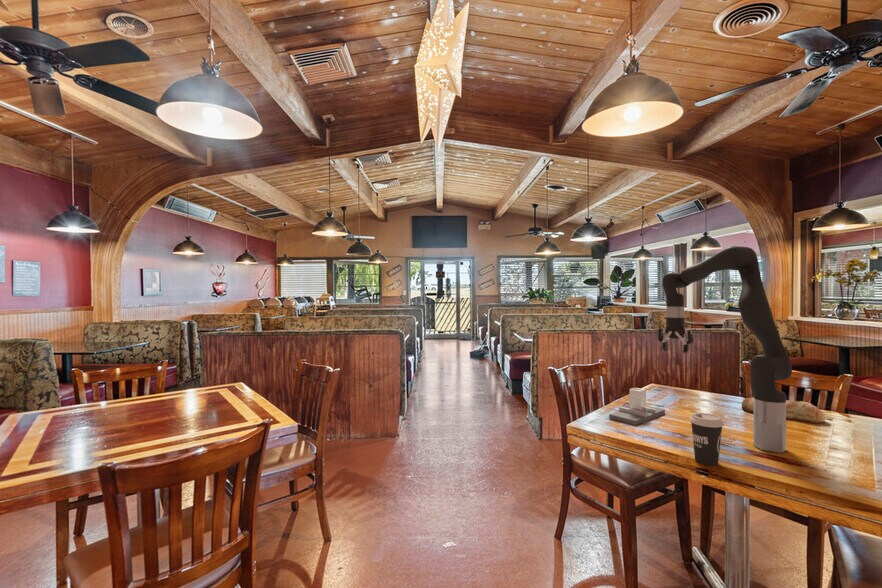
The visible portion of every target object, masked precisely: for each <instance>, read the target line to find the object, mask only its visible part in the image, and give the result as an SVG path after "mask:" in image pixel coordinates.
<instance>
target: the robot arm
mask: <svg viewBox="0 0 882 588" xmlns="http://www.w3.org/2000/svg"><path fill="white" fill-rule="evenodd" d="M728 270H730V271H738V274H739V276H740V280H741V289H740V293H739V298H738V302H737V304H738V309H739V314H740V316H741V319H742V322H743V324H744V325H745V327H746V328H747V329H748V330H749V331H750V332H751V333H752V335H754V336H755V338H756V339H757V340H758V341H759V343H760V345H761V348H762V350H763V353H764V354H757V355H755V356H753V357H752V358H751V361H750V363H749V379H750V388H751V392H752V393H753V397H754V413H753V420H752V421H753V425H752V426H753V428H752V429H753V436H752V437H753V446H754V447H756V448H758V449H759V450H761V451H767V452H772V453H780V454H784V452H786V451H787V419H786V400H787V394H786V393H785V392H784V391H781V390H778V388H777V386H776V385H777V384H776V381H786V380H787V379H789V378H791V376H792V374H793V367H792V362H791V360H790V357H789V355H788V352H787V351H786V348H785V346H784V344H783V341H782V339H781V336H780V334H779V331H778V328H777V324H776V323H775V319H774V316H773V312H772V309H771V305H770V303H769V301H768V297H767V295H766V291H765V287H764V283H763V281H762V276H761V271H760V264H759V260H758V256H757V253H756V252H755V250H754V249H753V248H751V247H748V246H741V245H739V246H738V245H737V246H736V245H735V246H734V245H733V246H732V245H731V246H727V247H725V248H724V249H722V250H719V252H717V253H715V254H714V255H712V256H710V257H708V258H707V259H705V260H703V261H700V262H697V263H696V264H693V265H690V266H688V267H685V268H683V269H682V270H681V271H680V272H667V273H664V275H663V277H662V282H661V283H662V287H663V291H664V293H665V298H666V308H665V326H666V327H665V328H663V327H661V328H658V334H657V336H658V337H657V339H658V341H659V342H661V343H662V350H663V351H664V352H667V351H668V342H669V340H670V339H671V340H672V339H676V340H680V341H681V342H682V343H683V345H682V346H683V347H682V348H683V349H682V350H683V354H687V353H688V352H689V345H690V344H694V332H693V330H692V329H688V330H687V329H686V328H685V326H686V319H685V318H686V314H685V313H686V312H685V297H684V294H682V293H679V292H678V291H677V289H682V288H686V287H688V286H690V285H691V284H693V283H696V282H700V281H702V280H705V279H706V278H708V277H709V276H710V275H712V274H713V273H715V272H716V273H717V272H719V271H728ZM664 333H666V335H665V336H664ZM685 334H686V336H687V338H686V336H685Z"/></svg>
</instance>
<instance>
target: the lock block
mask: <svg viewBox="0 0 882 588" xmlns="http://www.w3.org/2000/svg"><path fill="white" fill-rule="evenodd" d="M629 404H630V409H633V410H637V411H642V412H646V406H647V389H644V388H640V387H639V388H638V387H632V388H629Z"/></svg>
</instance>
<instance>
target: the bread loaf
mask: <svg viewBox="0 0 882 588" xmlns="http://www.w3.org/2000/svg"><path fill="white" fill-rule="evenodd" d="M741 409H743V411H745V412H747V413H751V414H754V396H751V397H747V398H745V399H742V402H741ZM786 418H788V419H787V420H793V419H795V421H798V420H800V422H804V421H806V422H805V423H810V422H813V423H812V424H823V423H824V422H825V420H827V421H831V422H833V418H826V416H825V413H824V412H823V411H822V409H819V408H818V406H815V405H814V404H812V403H810V402H806V401H803V400H799V401H798V400H788V399H786Z"/></svg>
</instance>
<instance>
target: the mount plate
mask: <svg viewBox="0 0 882 588" xmlns="http://www.w3.org/2000/svg"><path fill="white" fill-rule="evenodd" d="M618 409H619V410H617V411H615V412H612V413H609V414H608V417H609V418H610V419H609V420H612V419H614V420H613V421H616V420H618V421H617V422H620V421H622V422H621V423H624V422H626V423H625V424H628V423H629V425H632V424H633V426H635V425H636V426H638V424H639V425H641V424H643V423H646V422H649V421H650V420H653V418H654V419H656V418H658V417H661V416H663V415H665V414H666V409H664V408H660V407H656V406H650V405H646V412H642V411H637V410H633V409H630V403H628V407H624V406H619V407H618ZM648 420H649V421H648Z"/></svg>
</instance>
